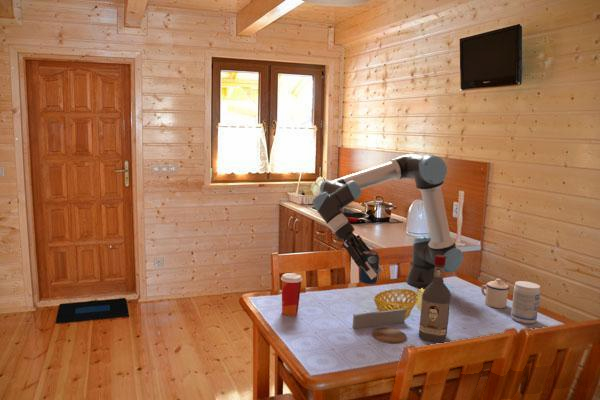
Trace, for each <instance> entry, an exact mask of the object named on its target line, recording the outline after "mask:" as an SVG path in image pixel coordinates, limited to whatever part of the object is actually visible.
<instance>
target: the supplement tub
mask: <svg viewBox="0 0 600 400" xmlns="http://www.w3.org/2000/svg"><path fill="white" fill-rule="evenodd" d="M540 295H541V285H539V284H538V283H534V282H531V281H526V280H524V281H523V280H518V281H515V283H514V288H513V295H512V296H513V297H512V303H511V313H510V317H511V319H512V320H514V321H516V322H518V323H521V324H527V325H528V324H536V323H537V319H538V311H539V303H540Z"/></svg>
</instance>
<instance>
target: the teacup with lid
mask: <svg viewBox="0 0 600 400" xmlns="http://www.w3.org/2000/svg"><path fill="white" fill-rule="evenodd" d="M485 288H486V291H485ZM480 290H481V294H482V295H483V296H484V297H485V298H484V304H485V305H486V306H487V307H490V308H493V309H504V308H507V304H508V303H507V302H508V295H509V290H510V286H509V285H508V284H507V283H505V282H504V281H502V279H501V278H496V279H495V280H493V281H492V280H491V281H488V282H486V284H483V285H481V289H480Z"/></svg>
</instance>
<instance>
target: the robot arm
mask: <svg viewBox="0 0 600 400" xmlns="http://www.w3.org/2000/svg"><path fill="white" fill-rule="evenodd" d="M447 167H448V166H447V165H446V163H445V161H444V160H443V158H441V157H440V156H437V155H434V154H430V153H429V154H427V153H426V154H425V153H420V152H411V153H407V154H403V155H400V156H397V157H394V158H390V159H389V161H387V162H386V163H383V164H380V165H377V166H373V167H370V168H367V169H364V170H361V171H359V172H358V171H357V172H355V173H352V174H349V175H345V176H342V177H339V178H335V179H325V180H324V181H322V182H321V184H320V186H319V191H320V194H318V195H316V196H315V198H313V200H312V205H313V208H315V210H316V212H317V213H318V214H319V216H320V217H321V218H322V219H323V221H324V222H325V223H326V225H327V226H328V228H329V229H330V230H331V231H332V233H334V235H335V237H336V238H337V240H338V241H342V240H343V243H342V244H341V245H342V246H343V248H344V249H345V250H346V251H347V253H348V254H349V256H350V257H351V259H352V261H354V263H355V264H356V266H357V267H359V268H360V266H362V268H363V269H364V270H365V272H366V273H367V274H368V276H369V277H370V278H371V280H372V279H373V278H374V277H376V276H377V274H376V273H375V272H374V270H373V269H372V268H371V266H370V265H369V264H368V262H367V261H366V262H365V260H364V258H363V256H362V254H363V251H372V250H371V248H370V247H369V246H368V245H367V243H365V241H364V240H363V239H362V237H361V236H360V234H358V235H356V234H354V231H355V228H354V226H353V224H351V222H349V220H348V218H347V217H346V216H345V214H344V213H343V211H342V210H343V209H344V208H346V207H347V206H349V204H351V203H353V202H354V201H356V200H357V199H358V198H359V197H361V196H362V190H363V189H367V188H369V187H373V186H376V185H378V184H382V183H385V182H388V181H391V180H395V181H398V180H401V179H402V180H403V179H411V180H414V181H415V186H416V189H417V190H419V191H420V194H421V198H422V202H423V203H422V204H423V207H424V213H425V217H426V222H427V223H426V224H427V229H428V232H429V233H428V234H429V235H417V236H415V237H414V239H413V242H412V245H413V246H412V258H411V267H410V269H409V270H408V273H407V276H406V283H407V284H408V285H410V286H412V287H416V288H421V287H424V288H423V289H425V288H426V287H427V286H428V285H429V284H430V283H431V282H433V279H434V271H435V264H434V262H435V255H444V256H446V261H445V266H444V273H449V274H450V273H451V274H452V273H455V272H456V271H457V270H458V269H459V268H460V267H461V265H462V263H463V260H464V254H463V251H462V250H460V248H457V246H456V240H455V239H454V237H452V236H451V231H450V227H449V221H448V216H447V211H446V206H445V201H444V197H443V196H444V194H443V191H442V186H444V183H445V182H444V180H445V179H446V175H447V173H448V169H447ZM383 271H384V269H383V268H382V266H381V265H380V264H379V266H378V275H380V274H381V273H382V272H383Z"/></svg>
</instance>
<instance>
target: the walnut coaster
mask: <svg viewBox="0 0 600 400" xmlns="http://www.w3.org/2000/svg"><path fill="white" fill-rule="evenodd" d="M371 333H372V337H373V338H374V339H375V340H378V341H379V340H380V341H379V342H382V341H383V342H382V343H386V342H388V343H387V344H399V343H400V342H401V343H404V342H406V340H407V334H406V333H405V332H403V331H401V330H399V329H397V328H391V327H379V328H375V329H373V330H372V332H371ZM403 341H404V342H403Z"/></svg>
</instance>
